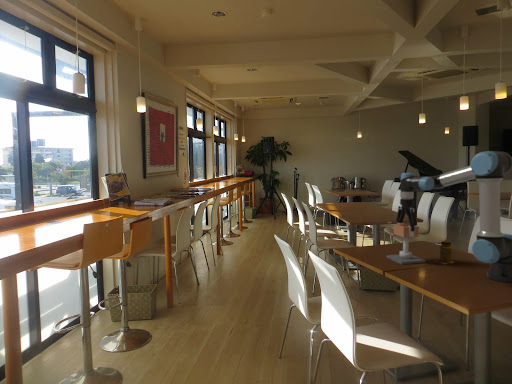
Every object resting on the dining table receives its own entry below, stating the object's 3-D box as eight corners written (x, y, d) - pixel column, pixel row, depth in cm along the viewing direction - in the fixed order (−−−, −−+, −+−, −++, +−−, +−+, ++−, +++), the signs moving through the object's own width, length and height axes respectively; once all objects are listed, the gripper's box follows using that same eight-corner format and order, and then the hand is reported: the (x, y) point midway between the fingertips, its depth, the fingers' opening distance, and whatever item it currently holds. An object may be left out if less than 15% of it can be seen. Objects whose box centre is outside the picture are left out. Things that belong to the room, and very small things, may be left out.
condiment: (454, 262, 222) (455, 242, 221) (444, 264, 218) (445, 244, 218) (443, 259, 229) (444, 240, 228) (434, 261, 225) (434, 241, 224)
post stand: (425, 262, 222) (426, 236, 221) (401, 264, 219) (402, 237, 217) (409, 256, 238) (409, 231, 236) (386, 257, 234) (386, 232, 233)
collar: (418, 236, 223) (418, 226, 223) (403, 237, 221) (403, 227, 221) (408, 233, 233) (408, 223, 232) (393, 234, 231) (394, 224, 230)
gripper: (424, 200, 215) (423, 238, 217) (401, 196, 237) (400, 231, 239) (413, 200, 213) (412, 238, 215) (390, 196, 235) (389, 231, 237)
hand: (405, 234), depth 227 cm, fingers closed on collar, 10 cm apart
